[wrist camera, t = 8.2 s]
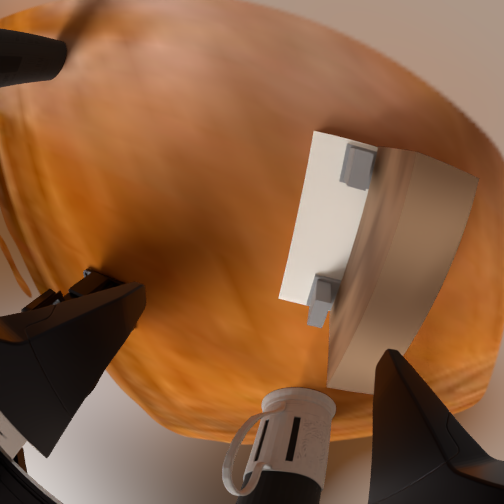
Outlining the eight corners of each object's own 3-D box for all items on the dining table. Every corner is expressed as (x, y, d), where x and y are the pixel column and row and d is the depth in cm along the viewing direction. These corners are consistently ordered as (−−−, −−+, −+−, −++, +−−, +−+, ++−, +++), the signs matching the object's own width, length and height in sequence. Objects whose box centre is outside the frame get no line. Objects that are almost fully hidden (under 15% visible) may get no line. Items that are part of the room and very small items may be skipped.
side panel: (406, 316, 20) (417, 352, 16) (281, 288, 21) (271, 321, 18) (458, 177, 15) (489, 189, 11) (314, 131, 16) (312, 128, 12)
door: (366, 321, 19) (375, 394, 12) (329, 313, 19) (326, 387, 13) (421, 161, 13) (479, 178, 7) (378, 146, 14) (416, 151, 8)
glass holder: (278, 429, 30) (250, 527, 17) (225, 360, 26) (164, 486, 13) (343, 421, 27) (330, 532, 14) (307, 344, 23) (275, 506, 10)
